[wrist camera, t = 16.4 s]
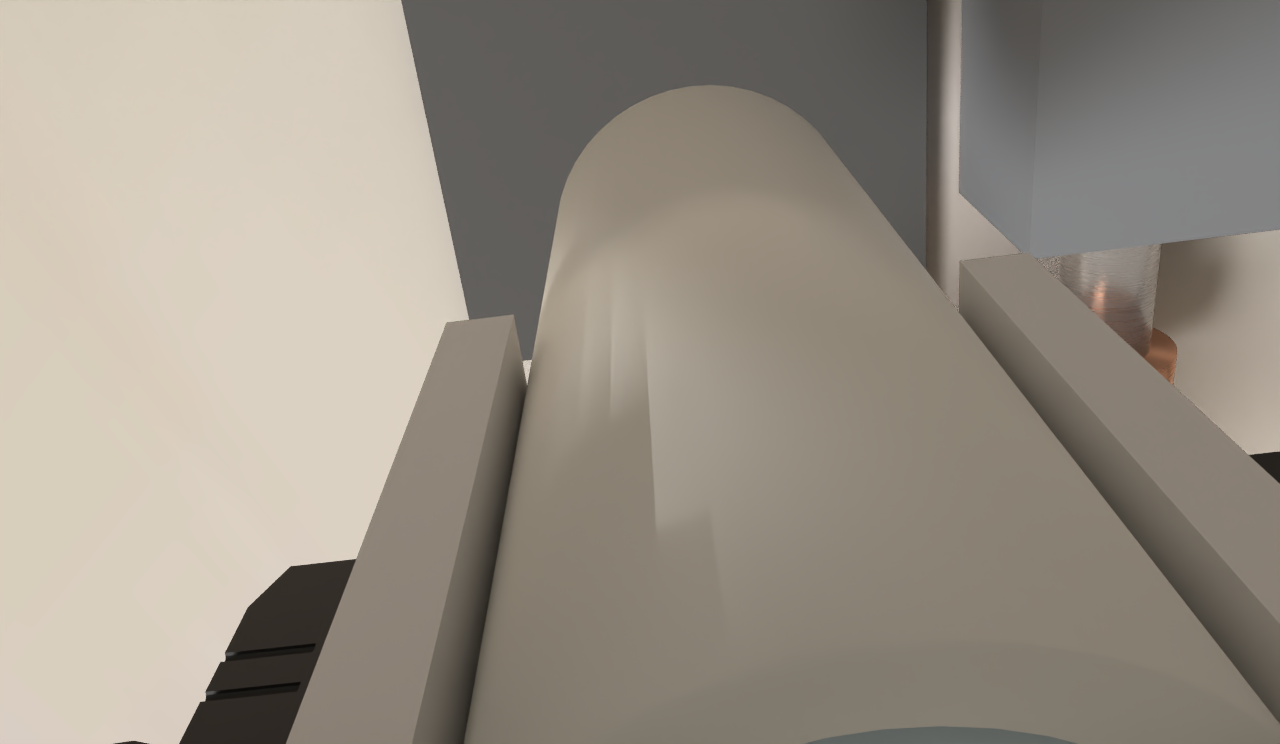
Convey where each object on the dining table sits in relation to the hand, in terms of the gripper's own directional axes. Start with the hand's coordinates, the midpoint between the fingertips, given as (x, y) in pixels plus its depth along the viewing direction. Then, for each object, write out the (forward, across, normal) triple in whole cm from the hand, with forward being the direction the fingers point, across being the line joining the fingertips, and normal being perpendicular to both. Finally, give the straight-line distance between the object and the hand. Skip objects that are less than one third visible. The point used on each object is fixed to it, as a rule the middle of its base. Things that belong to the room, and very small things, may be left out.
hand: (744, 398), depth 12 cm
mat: (+15, 0, 0) cm, 15 cm away
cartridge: (+6, 0, 0) cm, 6 cm away
